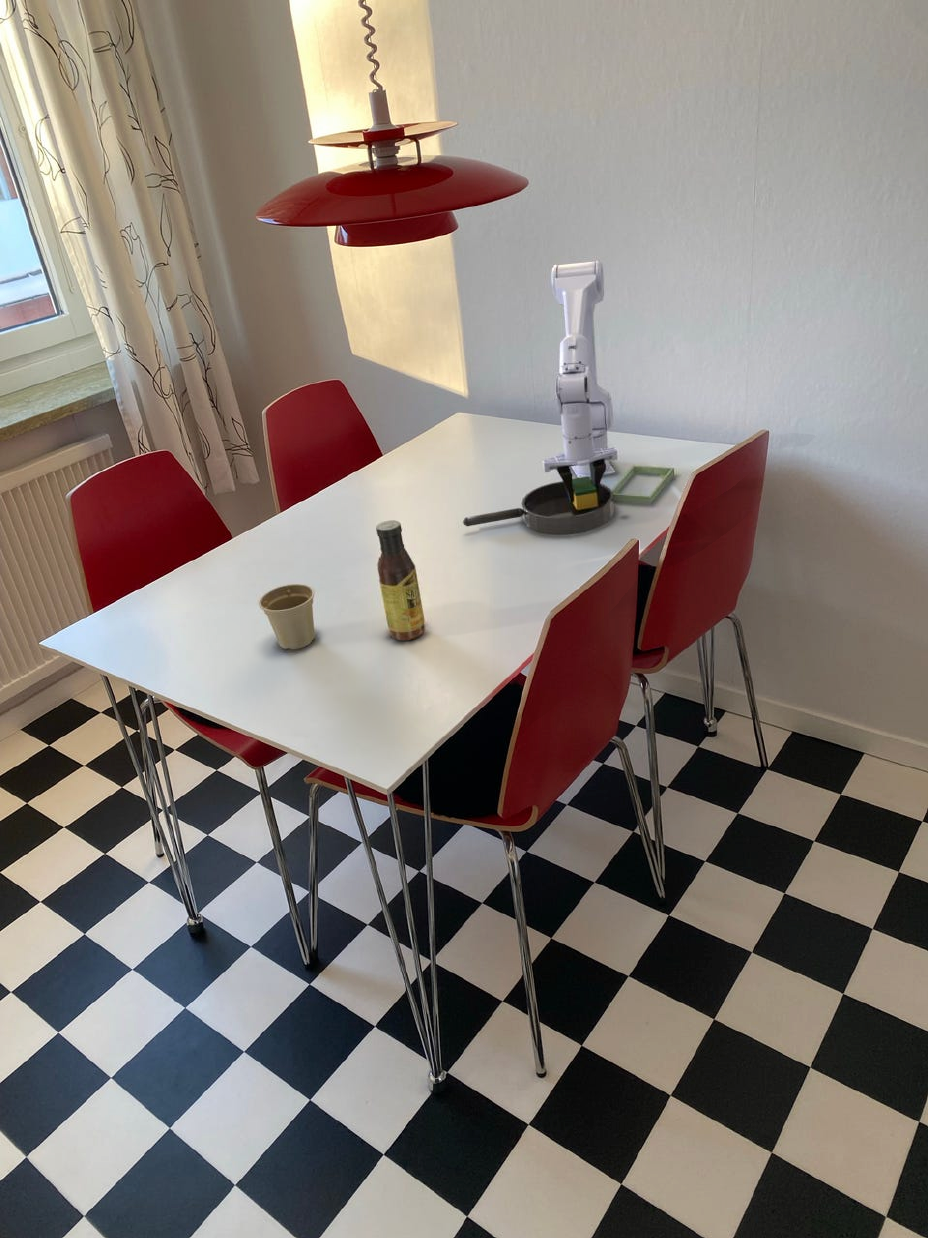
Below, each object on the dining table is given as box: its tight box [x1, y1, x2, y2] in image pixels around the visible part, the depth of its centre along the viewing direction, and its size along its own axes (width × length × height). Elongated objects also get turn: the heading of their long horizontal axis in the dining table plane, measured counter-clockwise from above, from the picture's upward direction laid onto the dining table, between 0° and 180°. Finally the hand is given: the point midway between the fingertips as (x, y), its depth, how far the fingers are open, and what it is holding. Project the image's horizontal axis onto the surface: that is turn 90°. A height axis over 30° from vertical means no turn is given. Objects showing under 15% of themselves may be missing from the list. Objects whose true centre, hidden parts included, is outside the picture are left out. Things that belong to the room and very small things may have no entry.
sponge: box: [572, 476, 598, 510], centre depth 196 cm, size 7×4×4 cm, turn 7°
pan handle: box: [462, 507, 523, 527], centre depth 195 cm, size 12×2×2 cm, turn 97°
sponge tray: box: [611, 464, 675, 505], centre depth 203 cm, size 15×9×2 cm, turn 152°
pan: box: [520, 480, 615, 536], centre depth 196 cm, size 18×18×4 cm
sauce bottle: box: [375, 519, 426, 641], centre depth 161 cm, size 6×6×20 cm
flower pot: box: [258, 583, 316, 650], centre depth 167 cm, size 9×9×9 cm
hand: (583, 498), depth 197 cm, fingers closed on sponge, 4 cm apart
